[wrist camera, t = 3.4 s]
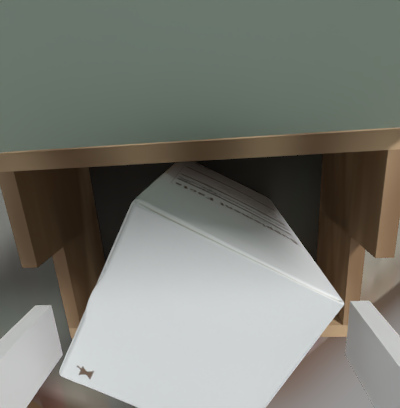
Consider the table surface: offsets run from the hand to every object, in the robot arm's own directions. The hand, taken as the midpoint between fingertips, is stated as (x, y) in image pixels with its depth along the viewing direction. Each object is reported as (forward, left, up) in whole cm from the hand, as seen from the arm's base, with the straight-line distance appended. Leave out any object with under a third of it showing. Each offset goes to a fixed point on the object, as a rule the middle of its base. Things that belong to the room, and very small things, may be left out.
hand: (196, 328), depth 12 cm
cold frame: (0, 0, -14) cm, 14 cm away
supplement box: (0, 0, -14) cm, 14 cm away
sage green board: (0, +11, +3) cm, 11 cm away
